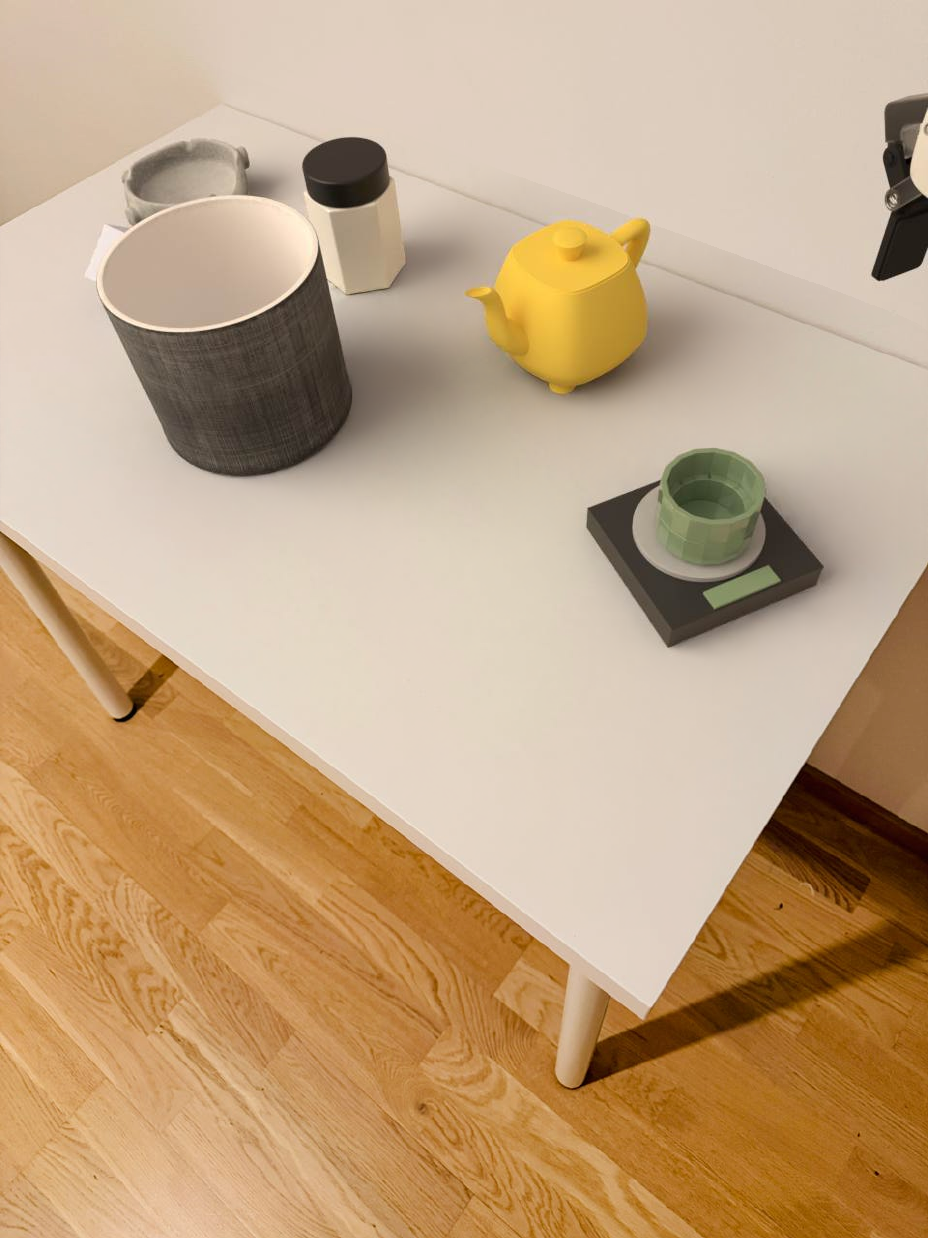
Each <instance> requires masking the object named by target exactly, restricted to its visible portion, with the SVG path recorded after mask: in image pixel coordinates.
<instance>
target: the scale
mask: <svg viewBox="0 0 928 1238" xmlns="http://www.w3.org/2000/svg"><path fill="white" fill-rule="evenodd" d="M660 481H661V479H659V480H656V481H654V482H651V483H649V484H646V485H644V486H641V487H638V488H635V489H633V490H631V491H627V492H625V493H623V494H620V495H617V496H615V497H612V498H610V499H607V500H604V501H602V502H600V503H597V504H594V505H591V506H589V507H587V510H586V523H585V524H586V525H585V527H586V529H587V530H588V532H589V533H590V535H591V536H592V538H593V539H594V541H595V543H596V544H597V545H598V546H599V547H598V548H600V550H601V552H603V554H604V556H605V557H606V558H607V560H608V562H609V563H610V564H611V566H612V567H613V569H614V571H615V572H616V574H617V575H618V576H619V578H620V579H621V580H622V582H623V584H624V586H625V587H626V588H627V590H628V591H629V593H630V594H631V596H632V597H633V598H634V600H635V602H636V603H637V604H638V606H639V607H640V609H641V611H643V613H644V615H645V616H646V617H647V619H648V621H649V622H650V623H651V625H652V626H653V629H655V631H656V632H657V634H658V636H659V637H660V638H661V640H662V641H663V643H664V644H665V646H666V647H667V648H670V647H672V646H675V645H678V644H680V643H682V642H685V641H687V640H689V639H691V638H694V637H696V636H699V635H701V634H704V633H706V632H709V631H711V630H713V629H715V628H718V627H720V626H723V625H725V624H728V623H730V622H732V621H734V620H737V619H739V618H741V617H744V616H746V615H748V614H751V613H753V612H755V611H758V610H760V609H763V608H765V607H768V606H770V605H773V604H775V603H777V602H779V601H781V600H784V599H787V598H788V597H791V596H793V595H796V594H799V593H801V592H803V591H805V590H808V589H810V588H813V587H815V586H817V583H818V581H819V579H820V576H821V575H822V572H823V569H824V567H825V565H823V563H822V562H821V561H820V560H819V559H818V557H817V556H816V555H815V553H813V552H812V551H811V549H810V548H809V546H807V545H806V543H805V542H804V541H803V540H802V539H801V538H800V536H799V535H798V534H797V533H796V531H795V530H794V529H793V528H792V527H791V526H790V525H789V523H788V522H787V521H786V520H785V518H783V516H782V515H781V514H780V513H779V512H778V511H777V509H776V508H775V507H774V506H773V505H772V504H771V502H770V501H769V500H768V499H767V497H765V496H764V500H763V504H762V507H761V510H760V513H759V517H758V520H757V523H756V526H755V529H754V533H753V536H752V539H751V542H750V545H749V546H748V547H747V548H746V549H745V550H744V551H743V552H742V553H741V554H740V555H739V556H738V557H736V558H734V559H731V560H729V561H727V562H724V563H721V564H708V565H702V564H701V565H700V564H696V563H693V562H689V561H685V560H682V559H680V558H679V557H677V556H676V555H674V554H672V553H671V552H669V551H668V550H667V549H666V548H665V547H664V546H663V544H662V543H661V542H660V540H659V539H658V537H657V536H656V531H655V525H654V518H655V512H656V506H657V500H658V494H659V487H660Z"/></svg>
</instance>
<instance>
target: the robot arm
mask: <svg viewBox="0 0 928 1238" xmlns="http://www.w3.org/2000/svg"><path fill="white" fill-rule="evenodd" d="M883 118H884V119H883V120H884V142H885V143H887V147H886V148H885V149H884V151H883V153H882V163H883V167H884V171H885V174H886V178H887V182H888V186H889V189H888V190H886V193H885V194H884V204H885V207H886V209H887V210H889V211H890V215H889V218H888V221H887V223H886V227H885V229H884V233H883V236H882V239H881V243H880V245H879V249H878V252H877V254H876V258H875V261H874V264H873V267H872V270H871V274H870V275H871V277H872V278H873V279H874V280H876V281H877V282H881V281H882V282H884V281H887V280H890V279H892V278H895V277H897V276H901V275H902V274H905V273H908V272H910V271H913V270H916V269H919V268H920V267H921V266H922V264H923V263H924V260H925V258H926V254H927V252H928V92H926V93H925V92H924V93H918V94H912V95H908V96H905V97H901V98H899V99H895V100H893V101H890V102H888V103H887V104H886V105H885V107H884V112H883Z"/></svg>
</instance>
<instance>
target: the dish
mask: <svg viewBox="0 0 928 1238" xmlns="http://www.w3.org/2000/svg"><path fill="white" fill-rule="evenodd" d="M250 166H251V162H250V158H249V154H248V152H247V149H246V147H244V146H242V145H240V146H237V148H236V147H235V146H233V145H232V144H230V143H228V142H225V141H222V140H218V139H213V138H209V139H208V138H203V137H201V138H199V137H198V138H192V139H189V140H180V141H176V142H172V143H170V144H167V145H165V146H162V147H160V148H159V149H157V150H155V151H152V152H150V153H148V154H146V155H144V156H142V157H141V158H139V159H138V160H136V161H134V162H133V163H132V164H131V165H130V166H129V167H128V169H126V170H124V172H122V174H121V182H122V184H123V189H124V195H125V201H126V204H127V205H126V207H125V209H124V213H125V218H126V220H127V222H128V223H129V225H130V226H131V228H132V227H133V226H134V225H136V224H137V223H139V222H141V221H142V220H144V219H146V218H148V217H149V216H151V215H153V214H155V213H158V212H160V211H162V210H164V209H167V208H170V207H172V206H175V205H178V204H181V203H185V202H188V201H192V200H197V199H202V198H207V197H214V196H226V195H246V196H249V185H248V175H247V171H246V170H247V169H248V170H249V169H250Z"/></svg>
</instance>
